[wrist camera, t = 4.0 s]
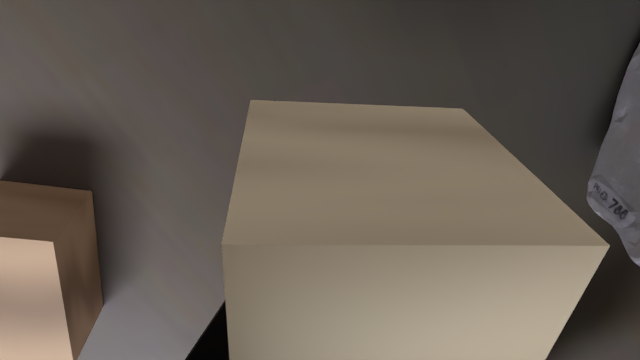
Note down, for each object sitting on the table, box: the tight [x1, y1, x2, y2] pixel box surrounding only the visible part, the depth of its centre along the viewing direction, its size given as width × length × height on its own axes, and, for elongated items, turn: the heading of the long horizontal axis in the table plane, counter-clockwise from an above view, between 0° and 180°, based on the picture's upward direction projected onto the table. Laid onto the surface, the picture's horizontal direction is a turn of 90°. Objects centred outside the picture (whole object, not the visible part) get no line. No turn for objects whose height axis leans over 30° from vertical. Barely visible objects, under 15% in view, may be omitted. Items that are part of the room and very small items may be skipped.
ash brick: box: [221, 100, 610, 360], centre depth 8 cm, size 8×4×4 cm, turn 176°
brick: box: [0, 180, 103, 360], centre depth 19 cm, size 8×4×4 cm, turn 169°
